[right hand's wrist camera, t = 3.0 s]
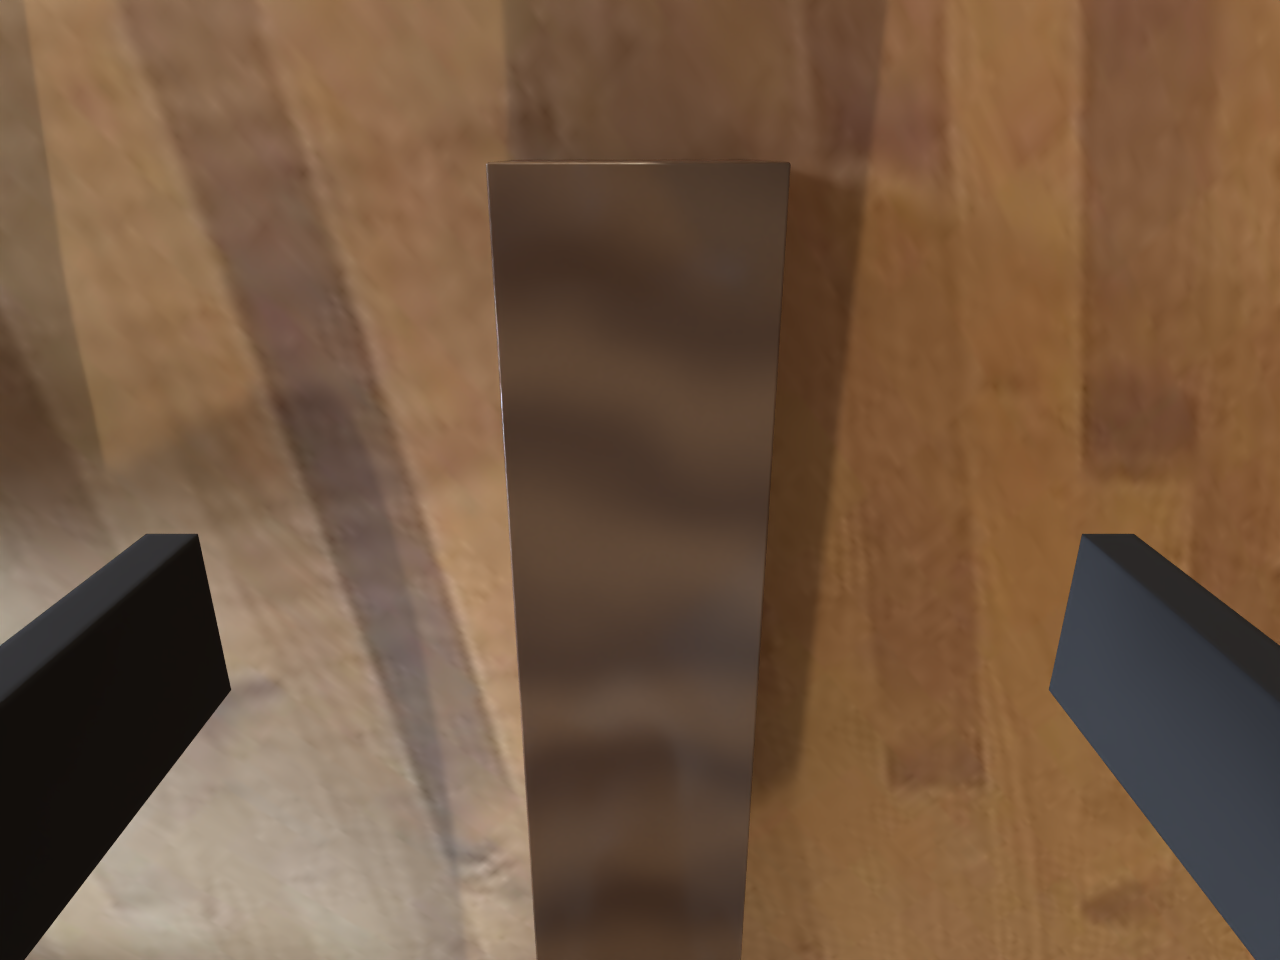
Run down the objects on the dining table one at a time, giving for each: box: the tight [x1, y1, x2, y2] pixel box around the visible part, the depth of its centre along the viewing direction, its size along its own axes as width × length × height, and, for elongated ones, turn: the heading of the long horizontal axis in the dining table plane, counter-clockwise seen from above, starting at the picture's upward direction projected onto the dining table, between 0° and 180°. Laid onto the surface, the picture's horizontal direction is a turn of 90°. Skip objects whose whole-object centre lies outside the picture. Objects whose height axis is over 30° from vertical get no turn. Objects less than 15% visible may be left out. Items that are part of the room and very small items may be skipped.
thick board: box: [486, 160, 790, 960], centre depth 40 cm, size 61×10×8 cm, turn 0°
